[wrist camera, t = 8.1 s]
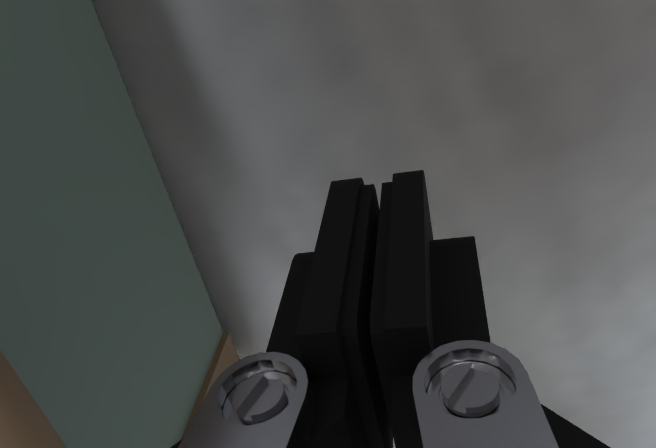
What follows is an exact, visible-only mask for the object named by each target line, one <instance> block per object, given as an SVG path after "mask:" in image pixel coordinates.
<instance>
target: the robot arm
mask: <svg viewBox="0 0 656 448" xmlns="http://www.w3.org/2000/svg"><path fill="white" fill-rule="evenodd" d="M393 438H394V442H395V446H396V448H610V447H608V446H607V445H605V444H604V443H602V442H600V441H599V440H597V439H596V438H594V437H593V436H591V435H589V434H588V433H586V432H585V431H583V430H581V429H580V428H578V427H577V426H575V425H573V424H572V423H570V422H569V421H567V420H566V419H564V418H562V417H561V416H559V415H558V414H556V413H554V412H553V411H551V410H550V409H548V408H546V407H545V406H543V405H542V404H540V402H539V399H538V397H537V395H536V392H535V390H534V387H533V385H532V383H531V380H530V378H529V376H528V373H527V371H526V370H525V368H524V367H523V365H522V364H521V362H520V360H519V359H518V358H516V357H515V356H514V355H513V354H511V353H510V352H509V351H508V350H506V349H504V348H502V347H499V346H497V345H495V344H492V343H490V336H489V330H488V323H487V316H486V310H485V303H484V296H483V290H482V283H481V277H480V270H479V263H478V257H477V250H476V244H475V238H474V236H471V237H461V238H451V239H441V240H433V234H432V226H431V219H430V212H429V204H428V197H427V190H426V182H425V176H424V171H423V170H419V171H411V172H403V173H395V174H393V180H392V182H386V183H382V190H381V201H380V210H379V205H378V199H377V194H376V189H375V186H374V184H370V185H364V182H363V180H362V178H355V179H347V180H339V181H332V182H331V185H330V189H329V193H328V197H327V201H326V206H325V210H324V214H323V218H322V222H321V226H320V230H319V235H318V239H317V243H316V247H315V251H314V252H308V253H298V254H296V255H295V256H294V258H293V260H292V264H291V267H290V271H289V274H288V277H287V281H286V284H285V288H284V291H283V295H282V298H281V302H280V305H279V309H278V312H277V316H276V319H275V323H274V326H273V330H272V333H271V336H270V340H269V343H268V347H267V350H266V352H263V353H258V354H254V355H251V356H247V357H245V358H243V359H241V360H239V361H237V362H235V363H234V364H232V365H230V366H229V367H228V368H227V369H226V370H225V371H223V372H222V373H221V374H220V375H219V376H218V378H217V379H216V380H215V382H214V383H213V385H212V386H211V387H210V389H209V391H208V393H207V395H206V397H205V399H204V400H203V402H202V404H201V406H200V408H199V410H198V411H197V413H196V415H195V417H194V419H193V421H192V422H191V424H190V426H189V428H188V430H187V432H186V434H185V435H184V437H183V439H181V440H180V441H179V442H177V443H176V444H174V445H173V446H172V447H170V448H393Z"/></svg>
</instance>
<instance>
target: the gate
mask: <svg viewBox="0 0 656 448" xmlns="http://www.w3.org/2000/svg"><path fill="white" fill-rule="evenodd" d="M239 360H240V359H239V356H238V354H237V351H236V349H235V346H234V344H233V341H232V338H231V336H230V333H223V330H222V328H221V325H220V323H219V320H218V318H217V315H216V313H215V310H214V308H213V305H212V303H211V300H210V298H209V295H208V293H207V290H206V288H205V285H204V283H203V280H202V277H201V275H200V272H199V270H198V267H197V265H196V262H195V260H194V257H193V255H192V252H191V250H190V247H189V245H188V242H187V240H186V237H185V235H184V232H183V230H182V227H181V225H180V222H179V220H178V217H177V215H176V212H175V210H174V207H173V204H172V202H171V199H170V197H169V194H168V192H167V189H166V187H165V184H164V182H163V179H162V177H161V174H160V172H159V169H158V167H157V164H156V162H155V159H154V157H153V154H152V152H151V149H150V147H149V144H148V142H147V139H146V137H145V134H144V131H143V129H142V126H141V124H140V121H139V119H138V116H137V114H136V111H135V109H134V106H133V104H132V101H131V99H130V96H129V94H128V91H127V89H126V86H125V84H124V81H123V79H122V76H121V74H120V71H119V69H118V66H117V63H116V61H115V58H114V56H113V53H112V51H111V48H110V46H109V43H108V41H107V38H106V36H105V33H104V31H103V28H102V26H101V23H100V21H99V18H98V16H97V13H96V11H95V8H94V6H93V3H92V1H91V0H0V448H170V447H172V446H173V445H174V444H176V443H177V442H179V441H180V440H181V439H183V437H184V435H185V434H186V432H187V430H188V428H189V426H190V424H191V422H192V421H193V419H194V417H195V415H196V413H197V411H198V410H199V408H200V406H201V404H202V402H203V400H204V399H205V397H206V395H207V393H208V391H209V389H210V387H211V386H212V385H213V383H214V382H215V380H216V379H217V378H218V376H219V375H220V374H221V373H222V372H223V371H225V370H226V369H227V368H228V367H229V366H230V365H232V364H234V363H235V362H237V361H239Z"/></svg>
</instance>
